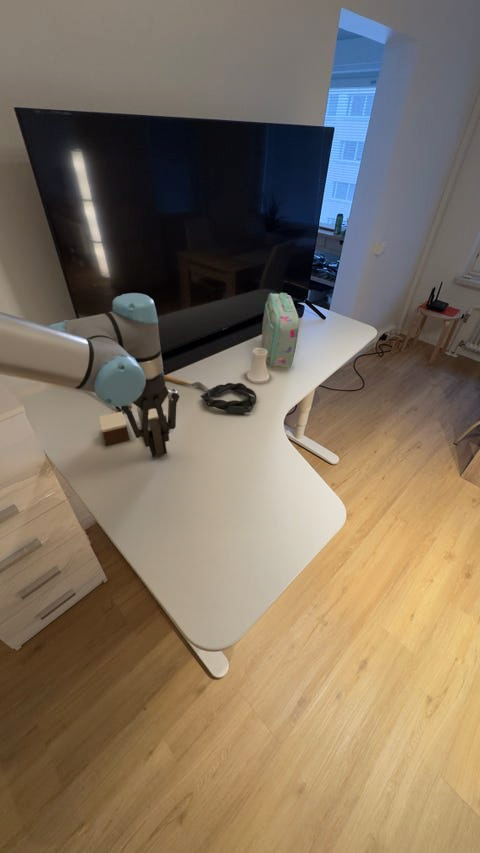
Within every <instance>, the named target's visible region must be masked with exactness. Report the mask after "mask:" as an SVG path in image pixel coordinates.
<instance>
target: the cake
mask: <svg viewBox="0 0 480 853" xmlns="http://www.w3.org/2000/svg"><path fill="white" fill-rule="evenodd" d="M123 413H124V412H123V411H118V412H113V413H109V414H104V415H100V416H98V421H99V425H100V429H101V433H102V435H103V439H104V443H105V446H106V447H108V446H112V445H116V444H120V443H124V442H128V441H130V440H131V439H130V435H129V431H128V430H129V429H128V426H127V422H126V420H125V416H124V414H123Z"/></svg>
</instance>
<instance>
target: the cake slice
mask: <svg viewBox="0 0 480 853" xmlns="http://www.w3.org/2000/svg"><path fill="white" fill-rule="evenodd" d="M162 409H163V407H162ZM163 413H164V417H165V420H166V423H167V422H168V417H167V414H166V411H165V409H163ZM153 418H156V419H157V421H158V423H159V425H160V428H162V427H161V424H160V421H159V418H158V414H157V411H156V409H150V410H149V415H148V420H150V419H153Z"/></svg>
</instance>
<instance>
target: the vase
mask: <svg viewBox="0 0 480 853" xmlns="http://www.w3.org/2000/svg"><path fill="white" fill-rule="evenodd" d="M266 356H267V350H266V349H264V348H263V347H256V348H254V349H252V363H251V366H250V369H249V371H248V372H247V374H246V377H247V380H248V381H249V382H251V383H254V384H265V383H267V382H268V381H269V380H270V374H269V372H268V370H267V361H266Z"/></svg>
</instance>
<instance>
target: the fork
mask: <svg viewBox="0 0 480 853" xmlns="http://www.w3.org/2000/svg"><path fill="white" fill-rule="evenodd" d="M164 378H165V381H169V382H172V383H177V384H181V385H184V386H189V387H195V388H199V389H202V390H204V392H207V390H209V388H208V387H207V386H206V385H205V384H203V383H202V382H199V381H195V382H193V383H190V382H187V381H185V380H182V379H178V378H175V377H172V376H168V375H165V374H164Z"/></svg>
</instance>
